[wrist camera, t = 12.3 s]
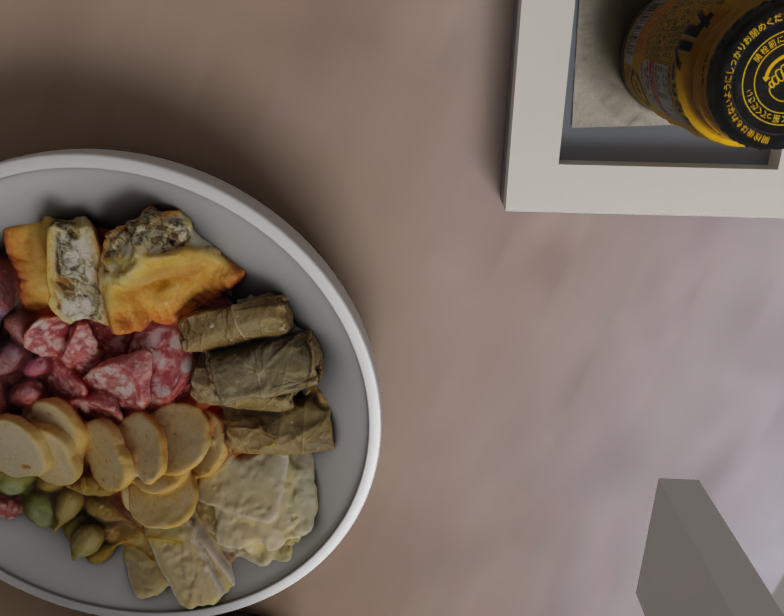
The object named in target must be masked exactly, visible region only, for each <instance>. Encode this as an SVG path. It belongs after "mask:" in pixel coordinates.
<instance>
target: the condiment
mask: <svg viewBox="0 0 784 616" xmlns="http://www.w3.org/2000/svg"><path fill="white" fill-rule="evenodd" d="M613 80H614V81H615V82H616V83H615V82H614V81H613ZM621 86H622V87H623V88H621ZM654 125H676V126H680V127H682V128H684V129H686V130H687V131H689V132H690V133H692V134H693V135H694V136H696V137H699V138H705V139H707V140H709V141H711V142H716V143H718V144H721V145H724V146H730V147H746V148H747V147H751V148H755V149H758V150H759V151H760V150H771V149H774V150H779V149H784V0H579V14H578V28H577V45H576V61H575V82H574V95H573V116H572V128H588V127H618V126H654Z"/></svg>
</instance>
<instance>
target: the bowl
mask: <svg viewBox="0 0 784 616" xmlns="http://www.w3.org/2000/svg"><path fill="white" fill-rule="evenodd" d="M381 435H382V396H381V387H380V380H379V375H378V369H377V365H376V361H375V357H374V353H373V349H372V346H371V344H370V341H369V338H368V335H367V332H366V330H365V327H364V325H363V323H362V320H361V318H360V316H359V314H358V312H357V310H356V308H355V306H354V304H353V302H352V300H351V299H350V297H349V295H348V294H347V292H346V290H345V288H344V287H343V285H342V284H341V282H340V281H339V279H338V278H337V276H336V275H335V274H334V272H333V271H332V270H331V268H330V267H329V266H328V264H327V263H326V262H325V261H324V259H323V258H322V257H321V256H320V255H319V254H318V253H317V251H316V250H315V249H314V248H313V247H312V246H311V245H310V244H309V243H308V242H307V241H306V240H305V239H304V238H303V237H302V236H301V235H300V234H299V233H298V232H297V231H296V230H295V229H294V228H293V227H291V226H290V225H289V224H288V223H287V222H286V221H285V220H283V219H282V218H281V217H279V216H278V215H277V214H276V213H274V212H273V211H272V210H271V209H269V208H268V207H266V206H265V205H263V204H262V203H260V202H259V201H257V200H256V199H255V198H253V197H251V196H250V195H248V194H246V193H245V192H243V191H241V190H240V189H238V188H236V187H234V186H232V185H230V184H228V183H226V182H224V181H223V180H220V179H218V178H216V177H214V176H211V175H209V174H207V173H205V172H202V171H200V170H197V169H194V168H192V167H189V166H186V165H183V164H180V163H177V162H173V161H170V160H167V159H163V158H158V157H154V156H150V155H145V154H139V153H133V152H127V151H118V150H109V149H65V150H54V151H45V152H39V153H33V154H28V155H24V156H20V157H15V158H11V159H8V160H5V161H2V162H0V580H2V581H4V582H6V583H8V584H10V585H12V586H13V587H16V588H18V589H20V590H22V591H24V592H26V593H28V594H31V595H33V596H36V597H38V598H41V599H43V600H46V601H49V602H51V603H54V604H57V605H60V606H63V607H67V608H70V609H73V610H77V611H81V612H85V613H89V614H94V615H99V616H213V615H218V614H223V613H226V612H230V611H234V610H237V609H240V608H243V607H246V606H249V605H252V604H254V603H257V602H259V601H262V600H264V599H266V598H268V597H270V596H272V595H274V594H276V593H278V592H280V591H282V590H284V589H285V588H287V587H289V586H290V585H292V584H293V583H295V582H297V581H298V580H300V579H301V578H302V577H304V576H305V575H306V574H308V573H309V572H310V571H312V570H313V569H314V568H315V567H316V566H317V565H319V564H320V563H321V562H322V561H323V560H324V559H325V558H326V557H327V556H328V555H329V554H330V553H331V552H332V551H333V550H334V549H335V547H336V546H337V545H338V544H339V543H340V542H341V540H342V539H343V538H344V536H345V535H346V534H347V532H348V531H349V530H350V528H351V526H352V525H353V523H354V522H355V520H356V518H357V517H358V515H359V513H360V511H361V509H362V507H363V505H364V503H365V501H366V499H367V496H368V494H369V491H370V488H371V485H372V483H373V479H374V476H375V472H376V469H377V464H378V459H379V453H380V445H381Z"/></svg>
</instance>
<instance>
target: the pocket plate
mask: <svg viewBox="0 0 784 616" xmlns="http://www.w3.org/2000/svg"><path fill="white" fill-rule="evenodd" d="M578 14H579V0H515V6H514V20H513V34H512V47H511V61H510V74H509V88H508V101H507V115H506V128H505V142H504V155H503V169H502V182H501V196H500V199H501V201H502V204H503V206H504V209H505V211H523V212H561V213H600V214H639V215H677V216H716V217H755V218H784V149H779V150H774V149H771V150H760V151H759V150H758V149H755V148H751V147H747V148H746V147H730V146H724V145H721V144H718V143H716V142H711V141H709V140H707V139H705V138H699V137H696V136H694V135H693V134H692V133H690V132H689V131H687V130H686V129H684V128H682V127H680V126H676V125H654V126H618V127H588V128H572V116H573V95H574V82H575V61H576V45H577V28H578ZM613 81H614V80H613ZM614 82H615V81H614ZM615 83H616V82H615ZM621 88H623V87H622V86H621Z"/></svg>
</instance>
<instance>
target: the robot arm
mask: <svg viewBox="0 0 784 616" xmlns="http://www.w3.org/2000/svg"><path fill="white" fill-rule="evenodd" d="M636 594H637V597H638V599H639V602H640V604H641V607H642V609H643V612H644V614H645V616H784V614H783V613H782V611H781V610H780V608H779V606H778V605H777V603H776V602H775V600H774V598H773V597H772V595H771V594H770V592H769V591H768V589H767V587H766V586H765V584H764V583H763V581H762V579H761V578H760V576H759V575H758V573H757V572H756V570H755V568H754V567H753V565H752V564H751V562H750V560H749V559H748V557H747V556H746V554H745V553H744V551H743V549H742V548H741V546H740V545H739V543H738V541H737V540H736V538H735V537H734V535H733V534H732V532H731V530H730V529H729V527H728V526H727V524H726V522H725V521H724V519H723V518H722V516H721V515H720V513H719V511H718V510H717V508H716V507H715V505H714V503H713V502H712V500H711V499H710V497H709V496H708V494H707V492H706V491H705V489H704V488H703V486H702V484H701V483H700V481H699V480H685V479H662V478H659V480H658V485H657V490H656V495H655V500H654V505H653V510H652V515H651V520H650V525H649V530H648V535H647V540H646V545H645V550H644V555H643V560H642V565H641V570H640V575H639V580H638V585H637V591H636ZM213 616H254V615H249V614H242V613H231V612H226V613H223V614H218V615H213Z"/></svg>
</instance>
